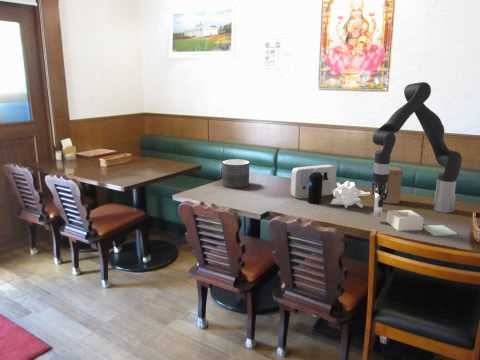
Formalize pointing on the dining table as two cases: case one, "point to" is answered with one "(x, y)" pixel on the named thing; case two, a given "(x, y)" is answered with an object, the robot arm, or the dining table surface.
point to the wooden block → (394, 186)
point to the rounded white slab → (302, 180)
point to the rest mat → (439, 230)
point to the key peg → (377, 209)
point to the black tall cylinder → (315, 187)
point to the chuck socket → (405, 220)
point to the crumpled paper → (347, 194)
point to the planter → (235, 173)
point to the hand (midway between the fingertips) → (378, 205)
